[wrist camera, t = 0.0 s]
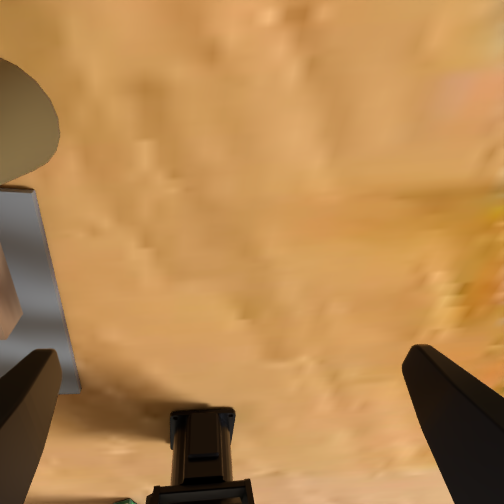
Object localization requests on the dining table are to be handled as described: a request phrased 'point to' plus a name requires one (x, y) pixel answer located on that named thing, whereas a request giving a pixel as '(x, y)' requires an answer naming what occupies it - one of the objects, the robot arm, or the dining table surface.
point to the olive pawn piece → (24, 124)
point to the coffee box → (126, 502)
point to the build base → (30, 289)
